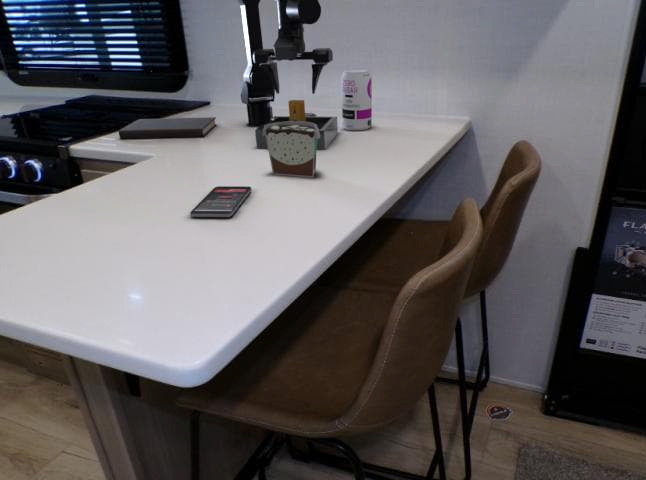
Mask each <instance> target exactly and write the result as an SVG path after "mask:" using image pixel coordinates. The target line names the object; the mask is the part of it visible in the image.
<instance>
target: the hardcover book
mask: <svg viewBox="0 0 646 480" xmlns="http://www.w3.org/2000/svg"><path fill="white" fill-rule="evenodd" d="M216 119H217V118H216V117H213V116H209V117H174V118H173V117H169V118H139V119H137V120H134V121H132V122H131V123H129V124H128V125H126V126H124V127H122V128H121V129H119V130H118V136H119V138H120V140H135V139H136V140H137V139H171V138H172V139H174V138H177V139H178V138H179V139H181V138H205V136H207V135H208V134H209V133H210V132H211V131H212V130H213V129H214V128H215V127H216V126H218V125H217V123H216Z"/></svg>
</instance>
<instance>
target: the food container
mask: <svg viewBox="0 0 646 480" xmlns="http://www.w3.org/2000/svg"><path fill="white" fill-rule="evenodd" d="M264 135H266V141H267V146H268V148H267V150H268V155H269V161H270V167H271V172H272V175H277V176H289V177H300V178H310V179H311V178H315V177H316V169H317V150H318V149H317V139H319V138H320V133H319V129H318V128H317V125H316V124H314V123H311V122H303V121H286V122H276V123H271V124H267V125H264V129H263V136H264Z"/></svg>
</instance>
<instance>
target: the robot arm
mask: <svg viewBox="0 0 646 480" xmlns="http://www.w3.org/2000/svg"><path fill="white" fill-rule="evenodd" d="M236 2H237V3H238V5H239V6H240V12H241V21H242V27H243V28H242V29H243V37H244V45H245V52H246V53H245V54H246V60H247V65H246V68H245V70H244V74H243V84H242V87H241V91H240V100H241V103H242V104H243V105H246V112H247V119H248V122H247V123H246V126H251V127H253V126H254V127H260V126H262V125H263V124H264V123H266V122H267V121H269V120H270V119H272V118H273V117H274V114H273V106H271V103H274V102H275V97H276V96H275V95H278V94H280V82H279V81H280V79H279V70H278V62H281V61H289V62H292V61H311V60H312V61H313V63H312V64H311V93H312V95H314V94H315V93H316V90H317V87H318V83H319V80H320V77H321V74H322V70H323V68H324V67H326V66H327V65H329V63H331V62H333V61H334V55H333V54H334V53H333V50H332V49H331V48H330V47H315V48H314V49H312V50H311V51H306V43H305V37H304V36H305V35H304V33H305V27H304V25H314V24H315V23H317V22H318V21H319V20H320V17H321V15H322V6H321V4H320V2H319V0H274V2H276V8H277V20H278V29H277V39H276V40H275V42H274V44H273V48H264V43H263V35H262V26H261V16H260V9H259V5H260V3H261V0H236ZM276 61H278V62H276Z"/></svg>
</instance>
